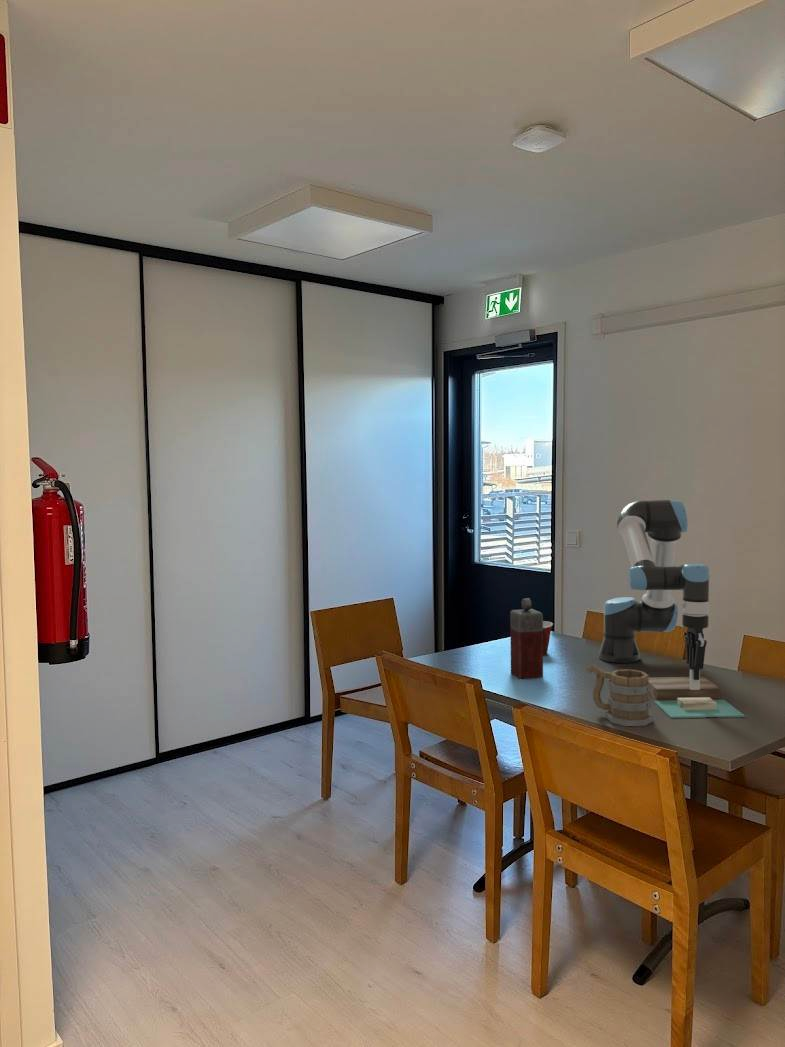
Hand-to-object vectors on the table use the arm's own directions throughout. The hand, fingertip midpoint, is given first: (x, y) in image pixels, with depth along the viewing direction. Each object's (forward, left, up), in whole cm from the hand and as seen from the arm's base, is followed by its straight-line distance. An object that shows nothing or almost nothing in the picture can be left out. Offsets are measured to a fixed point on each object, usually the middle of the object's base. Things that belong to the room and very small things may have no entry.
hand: (694, 689), depth 255 cm
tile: (+2, 0, -3) cm, 4 cm away
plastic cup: (-73, -36, -6) cm, 81 cm away
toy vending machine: (-40, -45, -6) cm, 60 cm away
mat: (+3, 0, -6) cm, 6 cm away
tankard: (+9, -26, -6) cm, 28 cm away
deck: (-13, 0, -6) cm, 14 cm away
